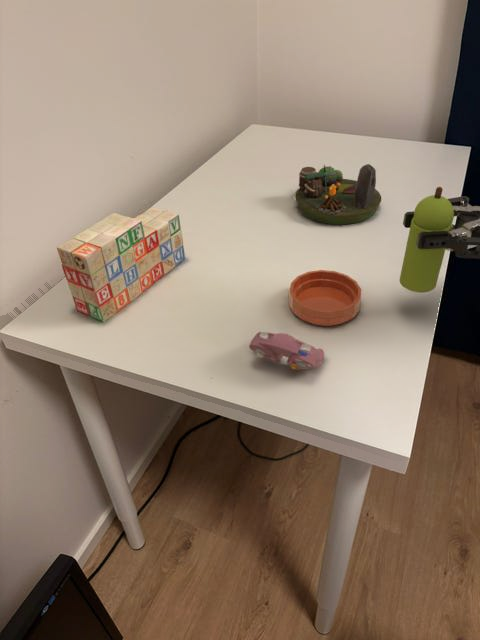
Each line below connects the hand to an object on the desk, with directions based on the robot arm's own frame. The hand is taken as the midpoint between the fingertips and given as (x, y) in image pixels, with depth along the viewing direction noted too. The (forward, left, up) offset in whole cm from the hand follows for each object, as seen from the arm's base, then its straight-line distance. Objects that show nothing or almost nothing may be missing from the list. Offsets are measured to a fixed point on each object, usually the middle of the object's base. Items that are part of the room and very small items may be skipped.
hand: (411, 230), depth 67 cm
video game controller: (+1, +21, -15) cm, 25 cm away
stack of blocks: (+32, +30, -15) cm, 46 cm away
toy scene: (+33, -17, -15) cm, 40 cm away
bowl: (+8, +8, -14) cm, 18 cm away
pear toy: (-1, -2, -9) cm, 9 cm away
